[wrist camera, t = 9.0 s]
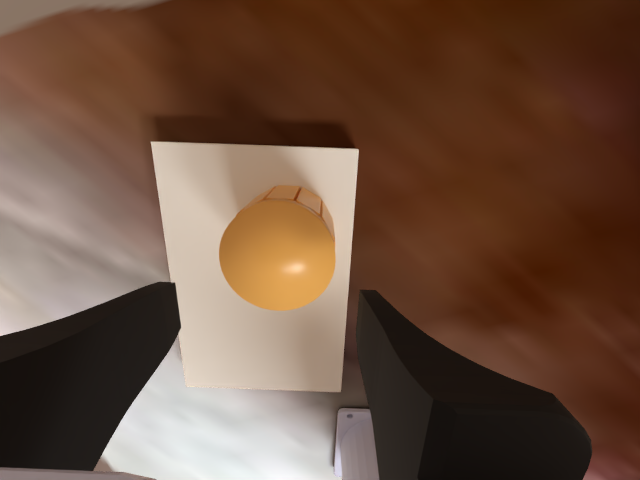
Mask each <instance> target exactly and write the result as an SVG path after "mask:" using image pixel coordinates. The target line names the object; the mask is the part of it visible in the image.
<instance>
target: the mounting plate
mask: <svg viewBox="0 0 640 480" xmlns="http://www.w3.org/2000/svg"><path fill="white" fill-rule="evenodd" d="M151 146H152V153H153V160H154V167H155V174H156V181H157V188H158V195H159V202H160V209H161V216H162V223H163V230H164V237H165V244H166V251H167V258H168V265H169V272H170V279H171V282H175V285H176V292H177V299H178V307H179V314H180V322H181V329H180V331H179V333H178V335H179V342H180V349H181V355H182V362H183V369H184V376H185V383H186V387H210V388H237V389H265V390H292V391H319V392H341V384H342V371H343V357H344V343H345V330H346V316H347V302H348V289H349V275H350V262H351V248H352V234H353V221H354V207H355V194H356V180H357V166H358V153H359V149H356V148H330V147H302V146H274V145H247V144H219V143H192V142H151ZM278 185H286V186H300V190H301V189H302V187H304V188H305V189H307V190H308V191H310V192H312V193H313V194H315V195H317V196H318V197H320V198H321V201H322V200H323V202H324V203H325V205H326V207H327V209H328V211H329V213H330V215H331V216H332V218H333V224H334V233H335V257H336V263H335V270H334V274H333V277H332V279H331V281H330V283H329V285H328V287H327V288H326V289H325V291H324V292H323V293H322V294H321V295H320V296H319V297H318V298H317V299H315V300H314V301H312V302H311V303H309V304H307V305H305V306H303V307H300V308H297V309H293V310H286V311H275V310H268V309H263V308H260V307H257V306H255V305H253V304H251V303H249V302H247V301H246V300H244V299H243V298H241V297H240V296H239V295H238V294H237V293H236V292H235V291H234V290H233V289H232V288H231V287H230V285H229V284H228V282H227V281H226V279H225V277H224V275H223V273H222V270H221V266H220V261H219V247H220V242H221V238H222V236H223V233H224V231H225V229H226V228H227V226H228V225H229V223H230V222H231V221H232V220H233V219H234V218H235V217H236V215H237V213H238V212H240V210H241V209H243V208H244V207H245V206H246V205H247V204H248V203H250V202H251V201H252V200H253V199H254V198H255V197H257V196H258V195H260V194H262V193H263V192H265V191H267V190H269V189H271V188H273V187H274V186H276V187H277V186H278Z"/></svg>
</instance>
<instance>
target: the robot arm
mask: <svg viewBox="0 0 640 480" xmlns="http://www.w3.org/2000/svg"><path fill="white" fill-rule="evenodd" d="M180 329H181V322H180V314H179V307H178V299H177V292H176V285H175V282H157V283H154V284H151V285H148V286H145V287H142V288H140V289H137V290H135V291H132V292H130V293H127V294H125V295H122V296H120V297H117V298H115V299H112V300H110V301H108V302H105V303H103V304H100V305H97V306H95V307H92V308H89V309H87V310H84V311H81V312H79V313H76V314H73V315H71V316H68V317H65V318H62V319H59V320H56V321H53V322H50V323H46V324H43V325H40V326H37V327H33V328H30V329H26V330H23V331H19V332H15V333H11V334H7V335H3V336H0V480H156V479H152V478H148V477H143V476H139V475H134V474H129V473H125V472H102V471H93V470H94V468H95V466H96V464H97V462H98V460H99V459H100V457H101V455H102V453H103V451H104V450H105V448H106V446H107V444H108V442H109V440H110V439H111V437H112V435H113V434H114V432H115V430H116V428H117V427H118V425H119V423H120V421H121V420H122V418H123V416H124V415H125V413H126V412H127V410H128V409H129V407H130V406H131V404H132V402H133V401H134V400H135V398H136V397H137V395H138V394H139V393H140V391H141V390H142V388H143V387H144V386H145V384H146V383H147V381H148V380H149V379H150V377H151V376H152V375H153V373H154V372H155V370H156V369H157V368H158V366H159V365H160V363H161V362H162V360H163V359H164V358H165V356H166V355H167V353H168V352H169V350H170V348H171V347H172V345H173V343H174V341H175V339H176V337H177V335H178V333H179V331H180ZM356 342H357V352H358V359H359V364H360V369H361V373H362V378H363V382H364V386H365V391H366V395H367V400H368V404H369V408H370V409H355V408H341V409H339V411H338V416H337V430H336V444H335V458H334V475H335V476H337V477H342V480H583V477H584V475H585V473H586V471H587V469H588V466H589V463H590V459H591V455H592V446H591V439H590V438H589V436H588V434H587V432H586V431H585V429H584V428H583V427H582V426H581V424H580V423H579V422H578V421H577V420H576V419H575V418H574V417H573V416H572V414H571V413H570V412H569V411H568V410H567V409H566V408H565V407H564V406H563V404H562V403H561V402H560V401H559V400H558V399H557V398H556V397H555V396H554V395H553V394H552V393H549V392H546V391H543V390H541V389H538V388H535V387H532V386H530V385H527V384H524V383H521V382H519V381H516V380H513V379H511V378H508V377H506V376H504V375H501V374H499V373H497V372H494V371H492V370H490V369H488V368H485V367H483V366H481V365H479V364H477V363H475V362H473V361H471V360H469V359H467V358H465V357H463V356H461V355H460V354H458V353H456V352H454V351H452V350H451V349H449V348H447V347H445V346H444V345H442V344H441V343H439V342H438V341H436V340H435V339H433V338H431V337H430V336H428V335H427V334H426V333H424V332H423V331H421V330H420V329H419V328H418V327H416V326H415V325H414V324H412V323H411V322H410V321H409V320H408V319H406V318H405V317H404V316H403V315H402V314H400V313H399V312H398V311H397V310H396V309H395V308H394V307H393V306H392V305H391V304H390V303H389V302H387V301H386V300H385V299H384V298H383V297H382V296H381V295H380V294H379V293H378V292H377V291H376V290H360V294H359V305H358V316H357V327H356ZM348 414H350V415H348Z"/></svg>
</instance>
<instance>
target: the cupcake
mask: <svg viewBox="0 0 640 480" xmlns="http://www.w3.org/2000/svg"><path fill="white" fill-rule="evenodd" d="M219 261H220V266H221V270H222V273H223V275H224V277H225V279H226V281H227V282H228V284H229V285H230V287H231V288H232V289H233V290H234V291H235V292H236V293H237V294H238V295H239V296H240V297H241V298H243V299H244V300H246V301H247V302H249V303H251V304H253V305H255V306H257V307H260V308H263V309H268V310H275V311H286V310H293V309H297V308H300V307H303V306H305V305H307V304H309V303H311V302H312V301H314V300H315V299H317V298H318V297H319V296H320V295H321V294H322V293H323V292H324V291H325V289H326V288H327V287H328V285H329V283H330V281H331V279H332V277H333V274H334V270H335V263H336V257H335V233H334V224H333V218H332V216H331V215H330V213H329V211H328V209H327V207H326V205H325V203H324V202H323V200H322V201H321V198H320V197H318V196H317V195H315V194H313V193H312V192H310V191H308V190H307V189H305V188H304V187H302V189H301V190H300V186H286V185H278V186H277V187H276V186H274V187H273V188H271V189H269V190H267V191H265V192H263V193H262V194H260V195H258V196H257V197H255V198H254V199H253V200H252V201H251V202H250V203H248V204H247V205H246V206H245V207H244V208H243V209H241V210H240V212H238V213H237V215H236V217H235V218H234V219H233V220H232V221H231V222H230V223H229V225H228V226H227V228H226V229H225V231H224V233H223V236H222V238H221V242H220V247H219Z"/></svg>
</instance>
